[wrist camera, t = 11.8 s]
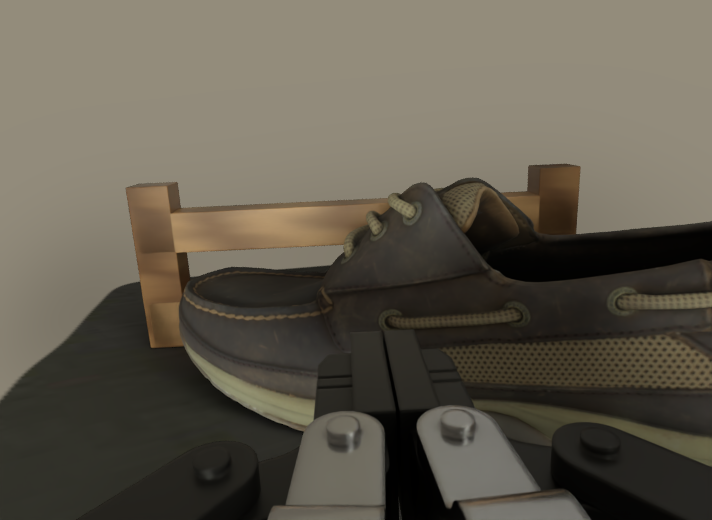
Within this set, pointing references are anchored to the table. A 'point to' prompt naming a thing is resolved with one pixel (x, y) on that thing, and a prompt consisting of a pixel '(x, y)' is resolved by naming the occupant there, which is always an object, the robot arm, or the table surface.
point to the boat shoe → (482, 318)
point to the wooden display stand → (284, 232)
